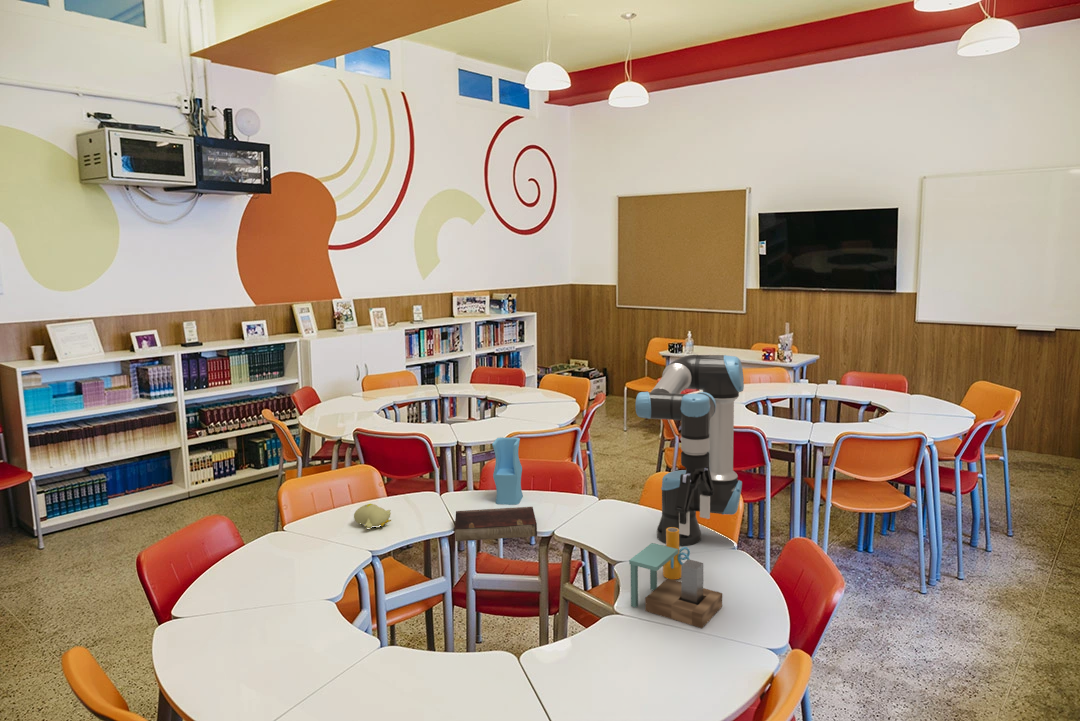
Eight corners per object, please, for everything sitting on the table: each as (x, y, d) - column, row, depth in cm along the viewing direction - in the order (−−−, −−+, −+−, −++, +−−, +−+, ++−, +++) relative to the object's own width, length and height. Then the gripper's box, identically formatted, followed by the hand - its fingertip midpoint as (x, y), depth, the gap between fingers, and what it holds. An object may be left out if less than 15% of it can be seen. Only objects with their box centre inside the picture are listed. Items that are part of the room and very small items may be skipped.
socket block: (667, 591, 214) (667, 578, 214) (722, 606, 205) (722, 593, 204) (645, 611, 203) (645, 597, 203) (702, 628, 193) (702, 614, 193)
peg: (702, 609, 203) (703, 563, 201) (696, 616, 199) (696, 569, 197) (688, 605, 206) (688, 559, 203) (681, 612, 202) (681, 565, 200)
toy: (373, 519, 261) (342, 506, 267) (372, 540, 263) (341, 527, 270) (399, 503, 273) (369, 491, 280) (398, 523, 276) (368, 511, 282)
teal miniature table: (652, 586, 217) (652, 542, 215) (678, 594, 212) (678, 549, 210) (629, 606, 206) (629, 560, 204) (656, 614, 201) (656, 567, 199)
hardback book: (532, 517, 276) (532, 505, 275) (537, 537, 258) (536, 524, 257) (456, 522, 273) (455, 509, 273) (455, 542, 255) (454, 529, 254)
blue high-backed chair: (494, 504, 290) (491, 443, 286) (499, 495, 300) (497, 437, 296) (518, 504, 289) (516, 444, 285) (523, 496, 298) (521, 437, 294)
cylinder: (689, 585, 217) (690, 538, 215) (654, 583, 219) (654, 536, 217) (689, 568, 229) (690, 523, 227) (656, 566, 231) (656, 521, 229)
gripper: (701, 438, 208) (700, 508, 211) (661, 461, 188) (661, 538, 191) (726, 442, 203) (725, 513, 207) (688, 466, 184) (688, 544, 187)
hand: (694, 525), depth 199 cm, fingers open, 13 cm apart
